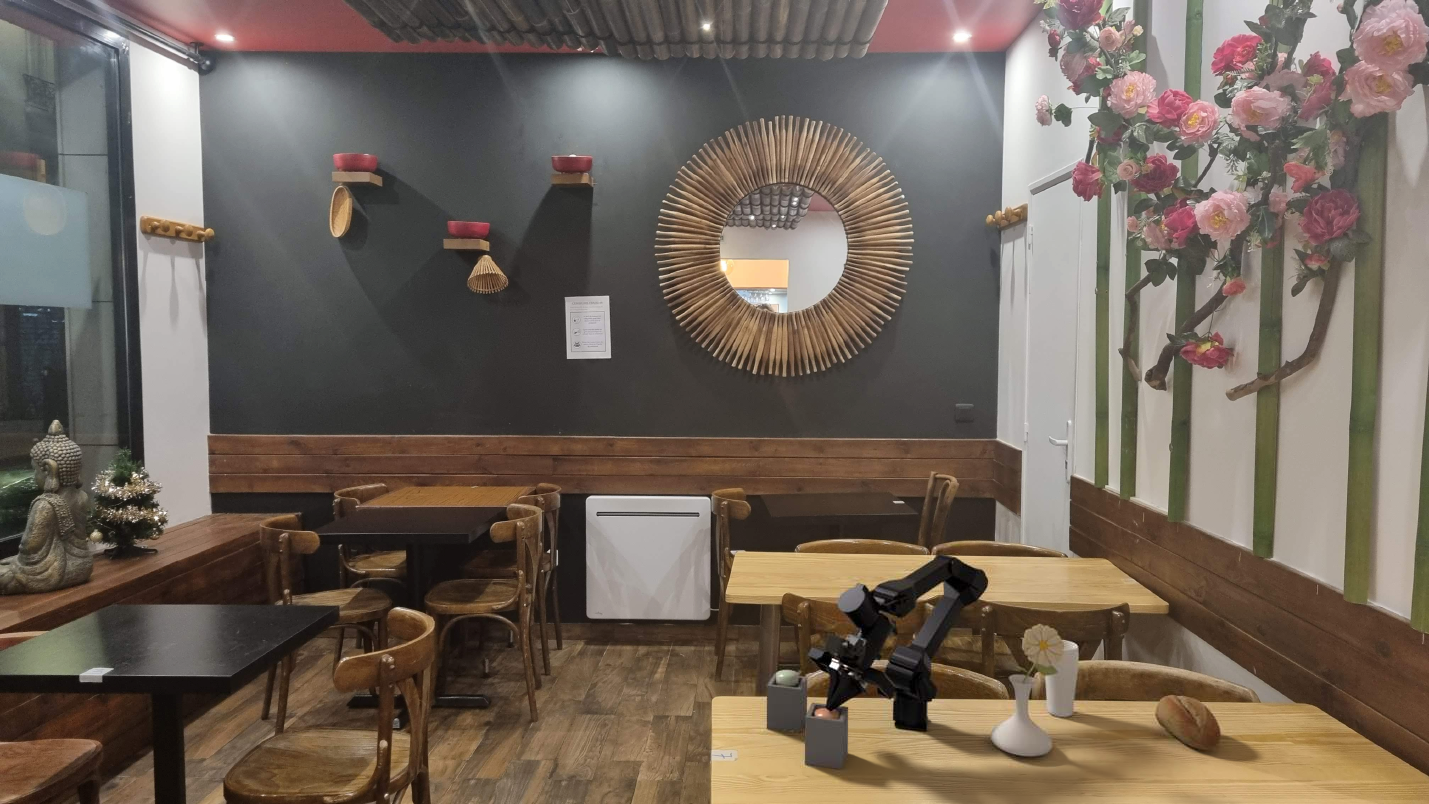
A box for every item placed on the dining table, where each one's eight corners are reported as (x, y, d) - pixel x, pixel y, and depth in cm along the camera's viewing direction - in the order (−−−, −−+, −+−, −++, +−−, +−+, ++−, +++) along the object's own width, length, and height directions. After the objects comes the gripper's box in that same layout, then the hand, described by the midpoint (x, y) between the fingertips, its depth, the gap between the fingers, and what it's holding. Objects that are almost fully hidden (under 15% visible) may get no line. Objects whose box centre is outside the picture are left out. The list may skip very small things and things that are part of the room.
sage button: (800, 683, 175) (800, 671, 175) (795, 691, 171) (796, 679, 170) (778, 680, 176) (779, 668, 176) (773, 688, 172) (774, 676, 172)
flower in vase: (989, 756, 160) (991, 627, 158) (991, 731, 170) (993, 610, 169) (1063, 768, 155) (1066, 636, 154) (1060, 742, 166) (1063, 618, 165)
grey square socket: (806, 718, 176) (807, 677, 176) (800, 733, 169) (800, 689, 169) (774, 714, 178) (774, 673, 178) (766, 728, 172) (766, 685, 171)
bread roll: (1185, 756, 160) (1186, 715, 160) (1141, 722, 175) (1142, 685, 175) (1234, 755, 161) (1235, 714, 160) (1186, 721, 176) (1187, 684, 175)
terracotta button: (840, 722, 160) (841, 709, 160) (837, 732, 156) (837, 719, 155) (817, 719, 161) (817, 706, 161) (812, 729, 157) (812, 716, 157)
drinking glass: (1080, 721, 176) (1082, 650, 175) (1046, 718, 177) (1047, 648, 176) (1073, 707, 182) (1074, 640, 181) (1040, 705, 183) (1041, 638, 183)
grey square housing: (847, 752, 161) (848, 706, 161) (842, 769, 154) (842, 722, 154) (811, 747, 163) (812, 702, 163) (804, 764, 157) (805, 717, 156)
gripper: (814, 606, 168) (772, 672, 162) (885, 630, 153) (843, 704, 147) (841, 636, 173) (802, 702, 167) (913, 662, 159) (872, 735, 153)
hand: (827, 709), depth 159 cm, fingers closed
